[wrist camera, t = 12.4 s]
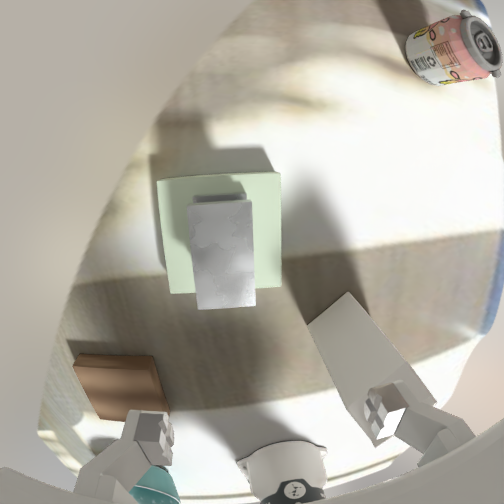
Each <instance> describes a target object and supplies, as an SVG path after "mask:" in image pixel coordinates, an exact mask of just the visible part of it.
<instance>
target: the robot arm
mask: <svg viewBox="0 0 504 504" xmlns="http://www.w3.org/2000/svg"><path fill="white" fill-rule="evenodd" d="M367 395H368V397H369V398H368V399H367V400H366V401H365V404H364V414H365V417H366V419H367V421H368V422H370V423H372V427H371V429H372V431H373V433H374V435H375V437H376V439H380V438H383V437H386V436H390V435H393V434H394V435H395V436H396V437H398V438H399V439H401V440H402V441H404V442H405V443H407V444H409V445H410V446H412V447H413V448H415V449H416V450H418V451H420V452H421V453H423V456H422V457H421V459H420V460H419V461H418V463H417V465H418V468H416V469H414V470H412V471H410V472H407V473H405V474H403V475H400V476H397V477H395V478H392V479H389V480H387V481H384V482H381V483H379V484H375V485H373V486H370V487H367V488H363V489H360V490H357V491H354V492H350V493H347V494H343V495H339V496H335V497H331V498H327V499H326V496H325V495H324V492H323V490H322V488H323V486H324V485H325V484H326V482H327V475H326V471H325V467H324V463H323V459H324V457H325V456H326V455H327V453H328V452H327V449H326V448H323V447H317V446H315V445H314V444H312V443H309V442H305V441H286V442H280V443H276V444H272V445H269V446H266V447H263V448H261V449H259V450H257V451H256V452H254V453H253V454H252V455H250V456H249V457H247V458H244V459H242V460H239V461H238V462H237V465H238V467H239V469H240V470H241V472H242V473H243V475H244V476H245V477H246V479H247V480H248V482H249V484H250V489H251V493H252V494H254V496H255V497H256V498H258V499H259V500H260V501H261V503H260V504H504V418H503V419H502V420H500V421H499V422H498V423H496V424H495V425H493V426H492V427H490V428H489V429H487V430H486V431H484V432H483V433H481V434H480V435H478V436H475V435H474V434H473V432H472V431H471V429H470V428H469V427H468V425H467V424H466V423H465V421H464V420H463V419H461V418H459V417H457V416H454V415H452V414H449V413H447V412H444V411H442V410H440V409H437V408H435V407H433V406H430V405H428V404H426V403H423V402H421V403H419V401H418V400H417V399H416V397H415V396H414V394H413V393H412V392H411V390H410V389H409V388H408V386H407V385H406V384H405V382H404V381H403V380H398V381H394V382H391V383H387V384H383V385H380V386H376V387H373V388H370V389H369V391H368V394H367ZM168 420H169V416H168V414H167V412H159V411H144V410H130V411H129V412H128V414H127V418H126V421H125V425H124V428H123V432H122V436H121V439H117V440H116V441H114V442H113V443H112V444H111V445H109V446H108V447H107V448H106V449H105V450H103V451H102V452H101V453H100V454H98V455H97V456H96V457H95V458H93V459H92V460H91V461H90V462H88V463H87V464H86V465H84V466H83V467H82V468H81V469H80V472H79V475H78V478H77V482H76V485H75V488H74V492H70V491H67V490H64V489H61V488H57V487H55V486H52V485H49V484H46V483H44V482H41V481H38V480H36V479H33V478H31V477H29V476H26V475H24V474H22V473H19V472H17V471H15V470H13V469H10V468H7V467H3V468H0V504H138V502H137V501H136V500H135V499H134V498H133V497H132V496H131V495H130V494H129V493H128V492H129V491H130V490H131V489H132V488H133V487H134V486H135V484H136V483H137V482H138V481H139V480H140V479H141V477H142V476H143V475H144V474H145V473H146V472H147V471H148V469H149V468H150V467H151V465H163V466H171V465H172V455H173V453H172V450H171V447H172V446H173V445H174V430H173V427H172V424H171V423H169V422H168Z"/></svg>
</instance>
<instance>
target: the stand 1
mask: <svg viewBox="0 0 504 504" xmlns="http://www.w3.org/2000/svg"><path fill="white" fill-rule="evenodd" d="M73 368H74V371H75V373H76V375H77V377H78V379H79V381H80V383H81V385H82V387H83V389H84V391H85V393H86V395H87V397H88V398H89V400H90V402H91V404H92V406H93V408H94V409H95V411H96V413H97V415H98V416H99V418H100V419H103V420H112V421H121V422H125V421H126V418H127V414H128V412H129V411H130V410H144V411H159V412H167V414H168V416H169V414H170V409H169V407H168V404H167V401H166V398H165V395H164V392H163V389H162V386H161V383H160V380H159V376H158V373H157V370H156V367H155V363H154V360H153V356H117V355H94V354H79V355H78V357H77V359H76V360H75V362H74V364H73ZM168 422H169V420H168Z"/></svg>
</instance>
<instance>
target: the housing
mask: <svg viewBox="0 0 504 504" xmlns="http://www.w3.org/2000/svg"><path fill="white" fill-rule="evenodd" d="M187 217H188V227H189V238H190V248H191V257H192V266H193V274H194V282H195V290H196V298H197V306H198V310H205V309H221V308H235V307H248V306H256V302H255V273H254V244H253V216H252V201H251V199H249V200H247V193H246V192H235V193H218V194H204V195H194V196H193V203H188V205H187Z"/></svg>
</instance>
